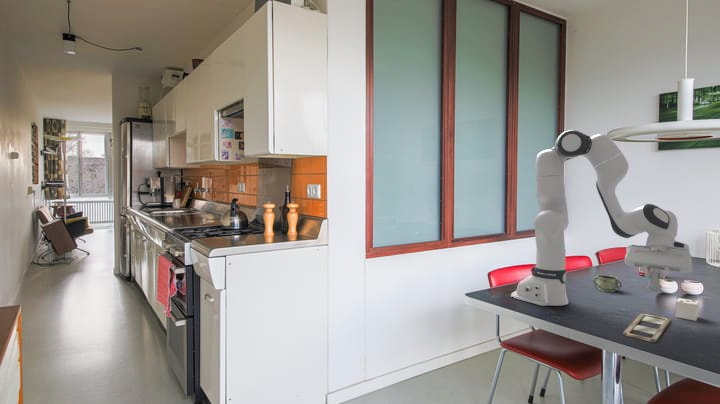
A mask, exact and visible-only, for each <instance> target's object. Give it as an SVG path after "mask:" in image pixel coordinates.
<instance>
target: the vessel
mask: <svg viewBox="0 0 720 404" xmlns="http://www.w3.org/2000/svg"><path fill="white" fill-rule="evenodd" d="M618 279H619V277H617V276H615V275H609V274H597V275H596V276H594V277H593V279H592V281H593V282H592V283H594V284H593V285H594V287H597V290H599V291H602V292H607V293H613V292H614V293H615V292H616V291H620V290H621V288H622V286H623V283H622V282H621V280H620V279H619V280H618ZM595 280H596V282H595Z"/></svg>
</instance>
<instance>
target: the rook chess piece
mask: <svg viewBox="0 0 720 404" xmlns="http://www.w3.org/2000/svg"><path fill="white" fill-rule="evenodd" d="M650 272H651V274H650V275H651V276H650V280H649V283H648V284H647V287H646V289H647V290H648V291H650V292H659V293H660V292H662V290H663V288H662V284H661V282H660V279H659V275H660V273H662V270H660V269H659V268H658V269H657V268H655V269H654V268H651V270H650Z"/></svg>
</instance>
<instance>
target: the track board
mask: <svg viewBox="0 0 720 404" xmlns="http://www.w3.org/2000/svg"><path fill="white" fill-rule="evenodd" d="M640 322H645V323H650V324H654V325H659V327H658V328H653V327H649V326H645V325H644V326H643V325H639V323H640ZM670 323H671V318H668V317H667V318H666V317H662V316H658V315H651V314H646V313H640V314H639V315H638V316H637V317H636V318H635V319H634V320H633V322H631V323H630V324H629V325H628V326H627V328H625V330H623V331H622V336H626V337H629V338H635V339H639V340H643V341H646V342H650V343H656V342H657V341H658V340H659V338H660V336H661V335H662V334H663V332H664V331H665V329H666V328H667V327H668V325H669V324H670ZM632 331H635V332H639V333H645V334H649V335H652V337H647V336H643V335H639V334H634V333H631V332H632Z"/></svg>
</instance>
